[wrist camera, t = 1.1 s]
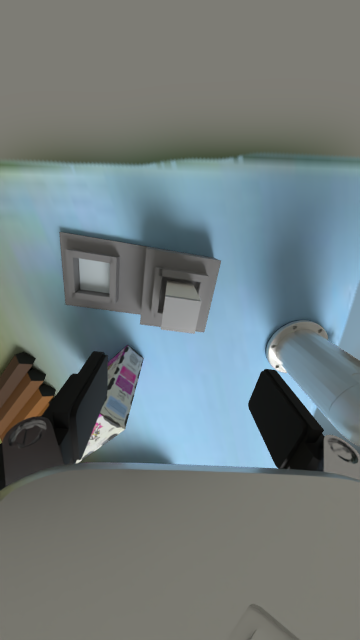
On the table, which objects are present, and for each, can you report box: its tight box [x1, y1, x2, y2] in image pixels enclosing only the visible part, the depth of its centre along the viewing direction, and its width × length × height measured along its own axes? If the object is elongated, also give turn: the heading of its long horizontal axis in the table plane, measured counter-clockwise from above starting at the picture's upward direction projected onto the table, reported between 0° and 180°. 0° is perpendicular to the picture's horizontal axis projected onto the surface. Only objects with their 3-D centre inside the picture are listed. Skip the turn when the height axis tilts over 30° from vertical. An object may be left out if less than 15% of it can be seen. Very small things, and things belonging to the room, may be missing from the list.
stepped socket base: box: [60, 232, 221, 332], centre depth 30 cm, size 25×12×7 cm, turn 81°
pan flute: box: [0, 352, 56, 443], centre depth 44 cm, size 25×3×25 cm
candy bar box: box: [76, 345, 144, 463], centre depth 33 cm, size 11×5×16 cm, turn 132°
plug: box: [161, 280, 201, 334], centre depth 25 cm, size 4×4×9 cm
